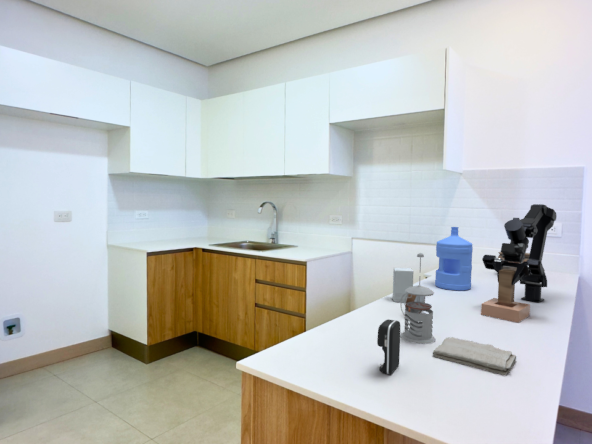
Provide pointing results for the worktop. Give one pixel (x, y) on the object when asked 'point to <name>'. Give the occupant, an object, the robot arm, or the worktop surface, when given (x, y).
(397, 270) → the supplement box
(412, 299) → the tin
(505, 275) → the peg
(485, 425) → the worktop surface
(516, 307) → the socket
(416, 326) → the french press
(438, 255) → the water jug
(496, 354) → the washcloth
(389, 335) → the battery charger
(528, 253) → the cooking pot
